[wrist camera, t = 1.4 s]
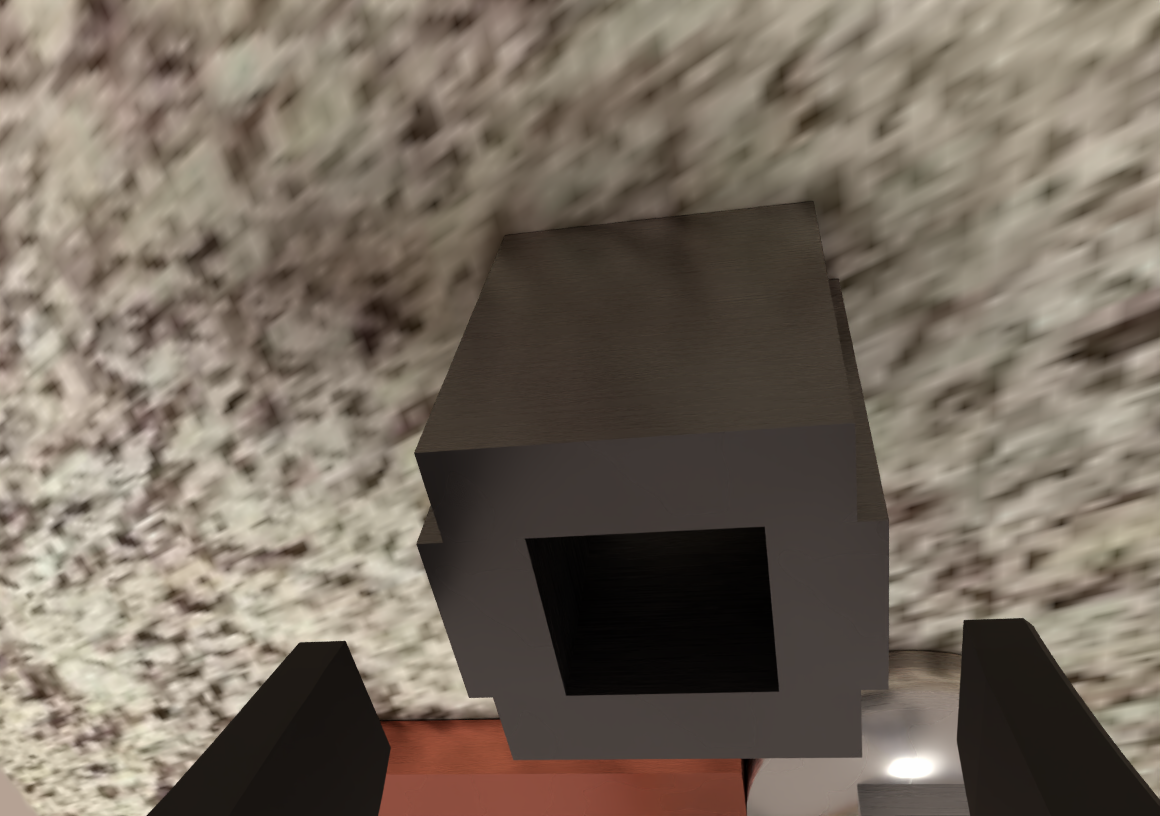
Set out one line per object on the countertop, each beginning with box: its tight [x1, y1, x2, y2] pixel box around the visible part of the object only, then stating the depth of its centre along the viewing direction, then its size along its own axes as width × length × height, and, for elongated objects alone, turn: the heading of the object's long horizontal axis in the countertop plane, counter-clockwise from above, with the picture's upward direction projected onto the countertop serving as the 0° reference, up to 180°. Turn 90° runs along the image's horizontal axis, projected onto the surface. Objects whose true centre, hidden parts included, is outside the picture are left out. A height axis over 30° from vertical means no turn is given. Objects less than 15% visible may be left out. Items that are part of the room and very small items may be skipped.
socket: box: [414, 201, 889, 760], centre depth 15 cm, size 6×6×6 cm
